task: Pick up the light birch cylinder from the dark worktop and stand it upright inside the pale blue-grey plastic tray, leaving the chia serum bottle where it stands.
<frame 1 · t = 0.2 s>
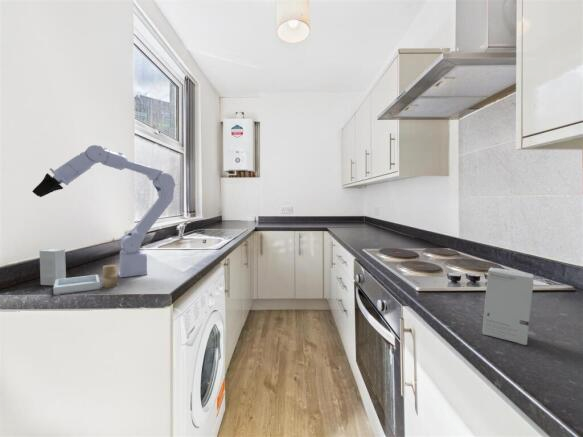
hand: (36, 194, 97), 31 cm above the countertop, tool tilted 45°, fingers open, 7 cm apart
skincare box: (53, 284, 101), on the countertop
tray: (77, 287, 97), on the countertop
birch cylinder: (110, 286, 99), on the countertop
skincare box 2: (505, 336, 65), on the countertop
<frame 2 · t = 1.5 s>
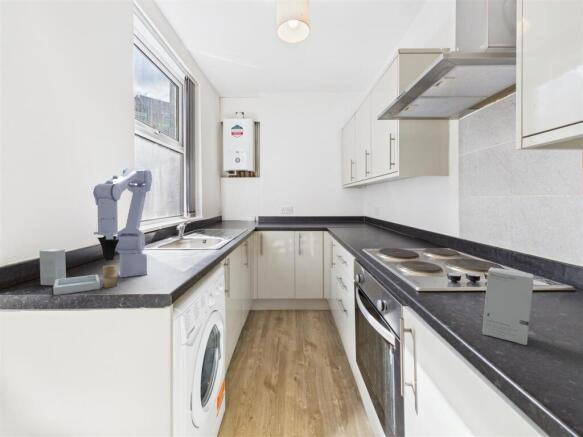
hand: (108, 258, 99), 10 cm above the countertop, tool pointing down, fingers open, 7 cm apart
nothing on the countertop moved.
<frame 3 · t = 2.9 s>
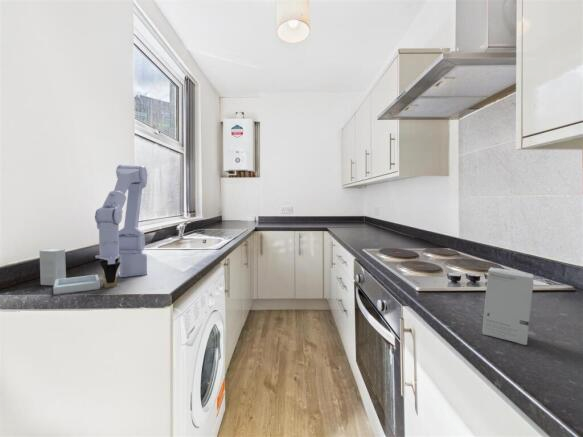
hand: (110, 281, 99), 2 cm above the countertop, tool pointing down, fingers closed on birch cylinder, 4 cm apart
birch cylinder: (110, 286, 99), on the countertop, touching gripper
everything else where it was.
when the fingers open (3 cm above the countertop, at t = 6.5 s): birch cylinder stays where it is, resting on tray.
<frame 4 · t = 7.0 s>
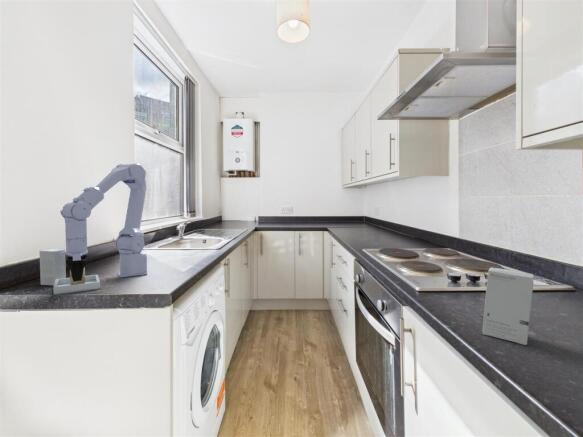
hand: (77, 278, 97), 3 cm above the countertop, tool pointing down, fingers open, 7 cm apart
birch cylinder: (77, 285, 97), point 1 cm above the countertop, touching tray
everything else where it was.
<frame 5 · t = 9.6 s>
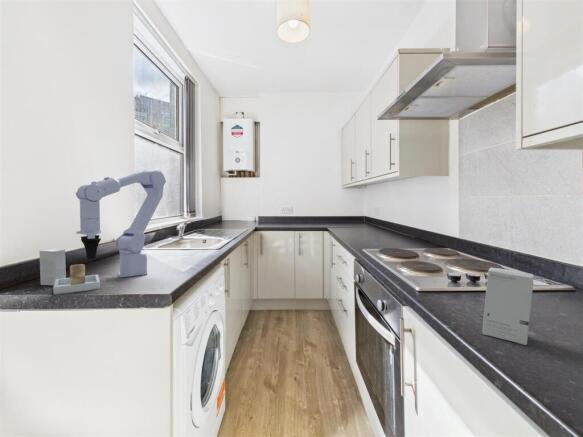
hand: (91, 256, 102), 9 cm above the countertop, tool pointing down, fingers open, 7 cm apart
nothing on the countertop moved.
at the end: birch cylinder inside the target area on the tray (0.0 cm from its centre), point 0.5 cm above the tray's base; birch cylinder tilted 0°; the gripper is holding nothing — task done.
